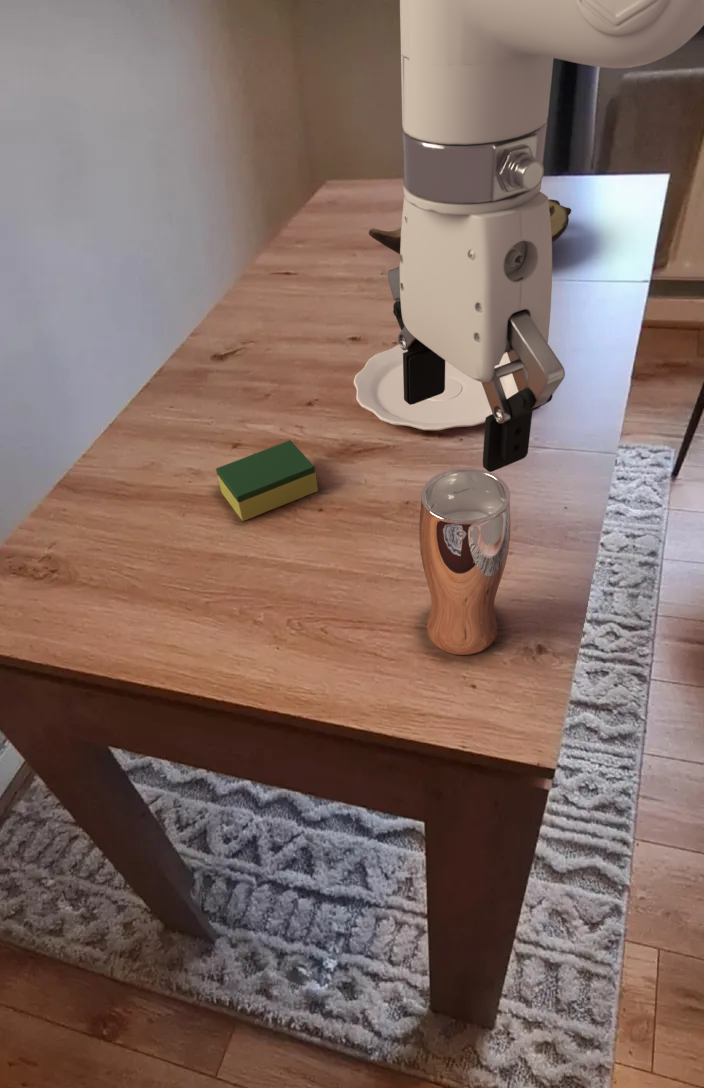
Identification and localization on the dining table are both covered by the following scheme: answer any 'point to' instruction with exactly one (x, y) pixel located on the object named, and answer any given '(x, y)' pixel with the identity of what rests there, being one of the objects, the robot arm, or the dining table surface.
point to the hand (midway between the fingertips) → (462, 428)
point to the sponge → (267, 480)
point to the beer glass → (464, 555)
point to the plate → (450, 409)
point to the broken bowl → (556, 217)
